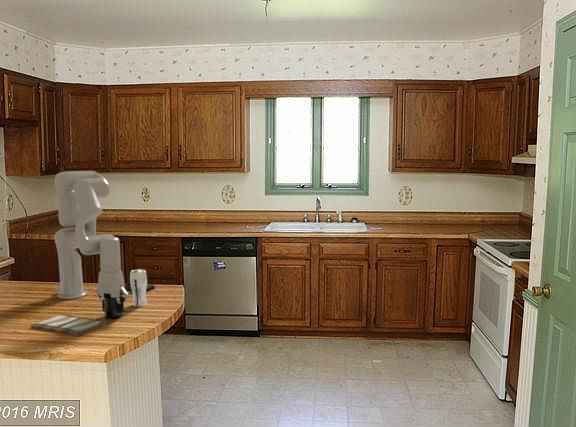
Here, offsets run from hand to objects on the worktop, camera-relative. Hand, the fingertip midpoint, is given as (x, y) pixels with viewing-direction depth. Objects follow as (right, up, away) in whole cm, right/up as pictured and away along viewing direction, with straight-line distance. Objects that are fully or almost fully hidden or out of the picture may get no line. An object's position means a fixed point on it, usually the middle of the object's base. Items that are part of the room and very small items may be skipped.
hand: (113, 311), depth 196 cm
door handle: (-5, +2, +42) cm, 43 cm away
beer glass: (+6, -1, +16) cm, 17 cm away
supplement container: (0, -2, 0) cm, 3 cm away
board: (-13, -4, -9) cm, 17 cm away
